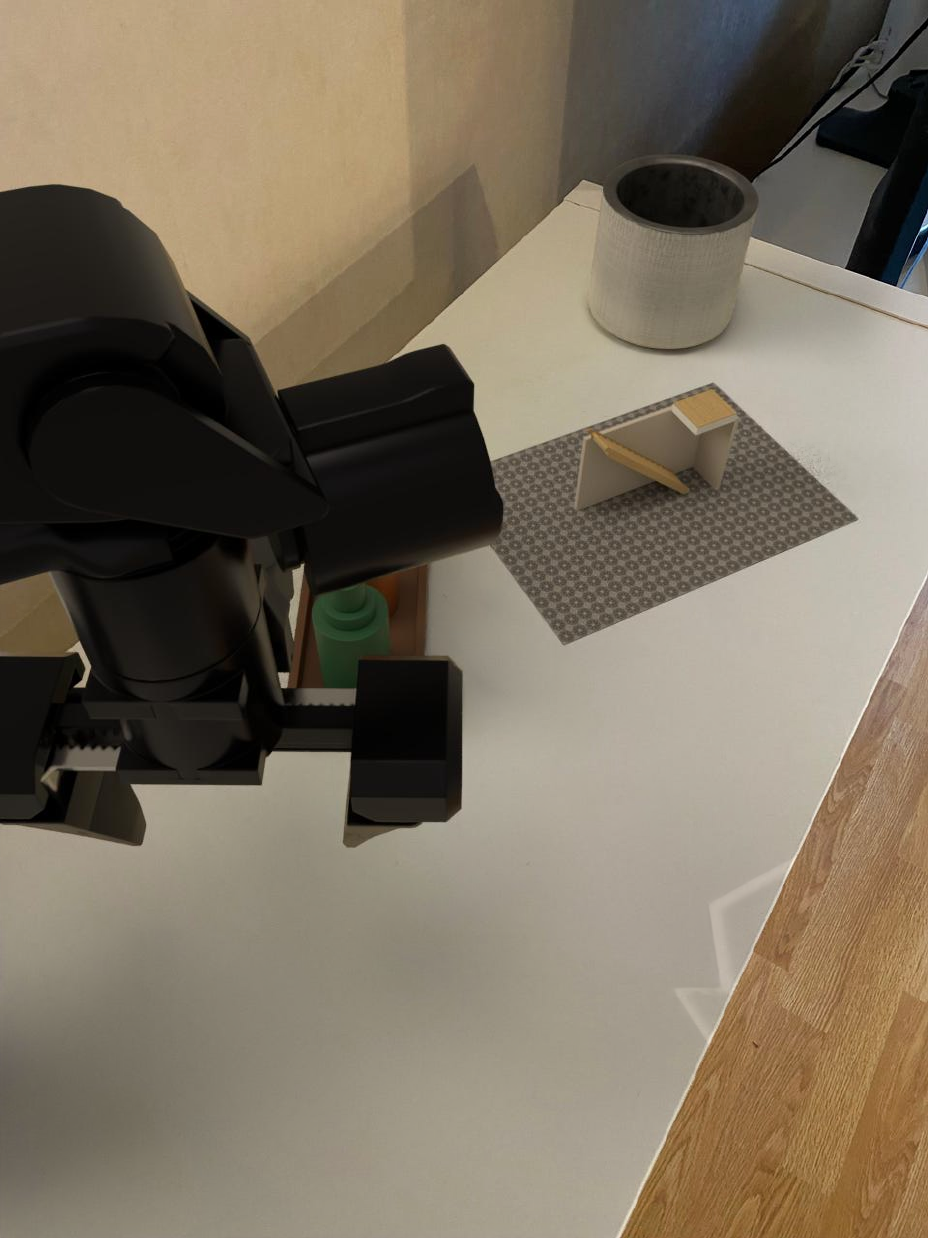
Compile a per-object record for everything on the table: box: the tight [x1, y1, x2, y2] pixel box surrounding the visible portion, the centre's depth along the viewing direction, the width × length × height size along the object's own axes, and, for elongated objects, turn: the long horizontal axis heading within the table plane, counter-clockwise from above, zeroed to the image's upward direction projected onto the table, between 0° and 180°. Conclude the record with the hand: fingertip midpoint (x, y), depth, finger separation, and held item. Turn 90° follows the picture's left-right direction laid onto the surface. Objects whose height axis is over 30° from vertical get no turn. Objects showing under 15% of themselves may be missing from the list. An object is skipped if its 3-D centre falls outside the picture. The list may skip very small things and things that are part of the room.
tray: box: [286, 563, 430, 688], centre depth 67 cm, size 20×8×2 cm, turn 0°
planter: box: [587, 154, 760, 350], centre depth 85 cm, size 13×13×11 cm
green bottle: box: [312, 583, 392, 689], centre depth 60 cm, size 4×4×10 cm
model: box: [573, 388, 740, 511], centre depth 72 cm, size 3×11×8 cm, turn 118°
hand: (246, 836), depth 44 cm, fingers open, 9 cm apart
